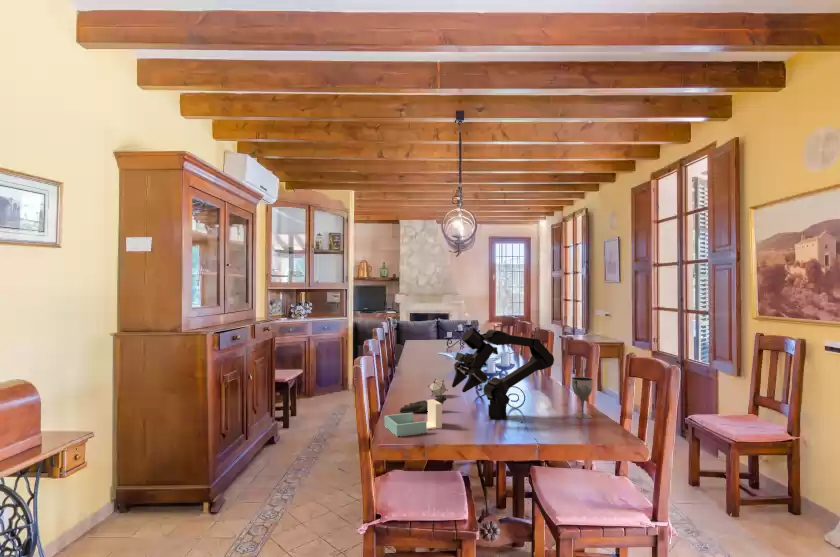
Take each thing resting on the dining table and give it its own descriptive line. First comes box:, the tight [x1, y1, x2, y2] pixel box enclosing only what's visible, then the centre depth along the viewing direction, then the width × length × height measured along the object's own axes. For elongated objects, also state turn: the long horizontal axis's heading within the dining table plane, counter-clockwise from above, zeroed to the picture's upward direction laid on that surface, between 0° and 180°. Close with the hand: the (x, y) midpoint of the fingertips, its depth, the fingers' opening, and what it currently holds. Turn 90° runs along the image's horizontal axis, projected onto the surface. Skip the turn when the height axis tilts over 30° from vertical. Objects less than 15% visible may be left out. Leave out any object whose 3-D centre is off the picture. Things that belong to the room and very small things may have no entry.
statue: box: [399, 394, 447, 414], centre depth 198 cm, size 6×6×20 cm
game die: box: [427, 378, 449, 397], centre depth 225 cm, size 9×8×10 cm
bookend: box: [426, 399, 443, 431], centre depth 178 cm, size 10×8×9 cm
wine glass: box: [571, 376, 594, 419], centre depth 191 cm, size 8×8×15 cm
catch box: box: [384, 412, 428, 438], centre depth 174 cm, size 11×13×4 cm
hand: (457, 389), depth 184 cm, fingers open, 9 cm apart
